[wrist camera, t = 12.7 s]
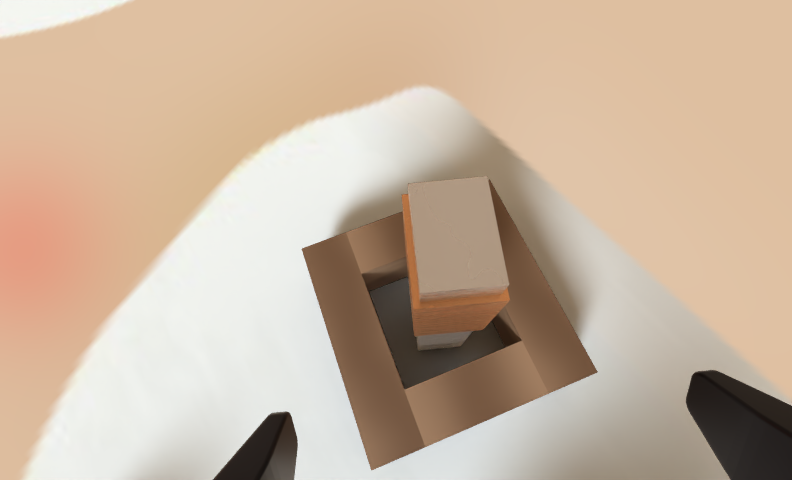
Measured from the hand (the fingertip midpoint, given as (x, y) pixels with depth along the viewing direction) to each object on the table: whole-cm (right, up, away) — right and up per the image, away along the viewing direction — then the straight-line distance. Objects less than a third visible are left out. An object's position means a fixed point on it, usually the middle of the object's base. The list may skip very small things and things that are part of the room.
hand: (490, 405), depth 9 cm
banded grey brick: (0, -1, +14) cm, 14 cm away
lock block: (0, -1, +14) cm, 14 cm away
